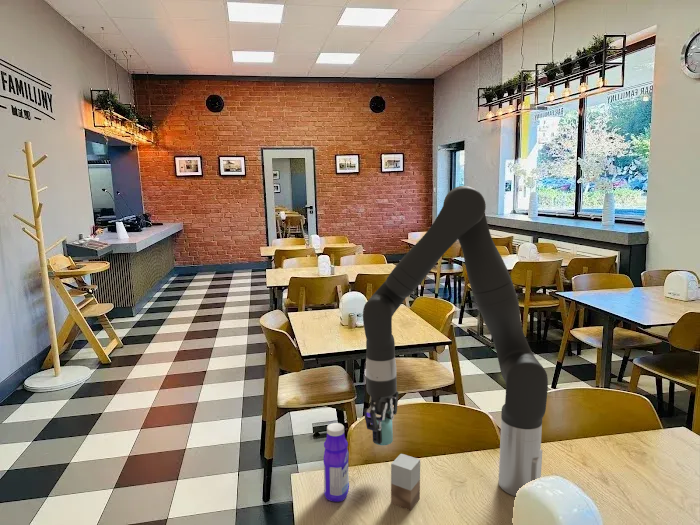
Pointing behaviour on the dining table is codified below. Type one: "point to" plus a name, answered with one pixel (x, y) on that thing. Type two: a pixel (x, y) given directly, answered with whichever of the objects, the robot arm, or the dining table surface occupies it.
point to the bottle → (336, 463)
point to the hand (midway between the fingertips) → (382, 437)
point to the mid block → (405, 471)
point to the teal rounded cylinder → (386, 431)
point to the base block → (405, 496)
